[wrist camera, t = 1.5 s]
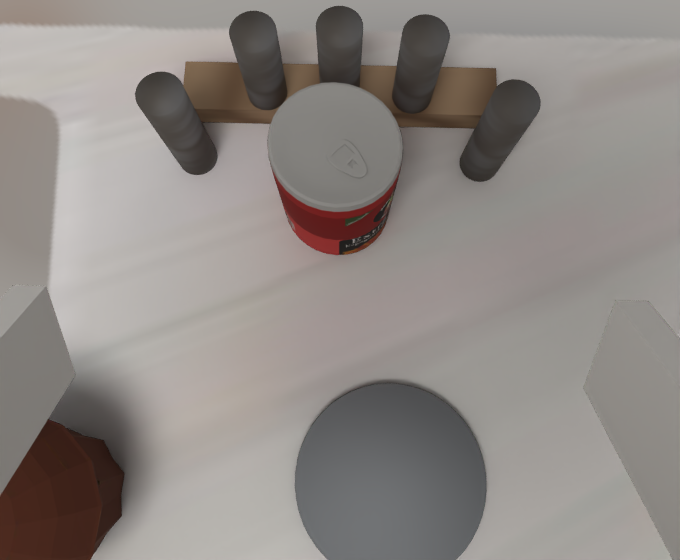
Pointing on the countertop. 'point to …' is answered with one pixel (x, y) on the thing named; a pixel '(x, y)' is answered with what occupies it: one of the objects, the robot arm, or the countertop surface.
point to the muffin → (60, 498)
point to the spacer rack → (342, 67)
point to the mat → (390, 477)
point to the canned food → (335, 165)
